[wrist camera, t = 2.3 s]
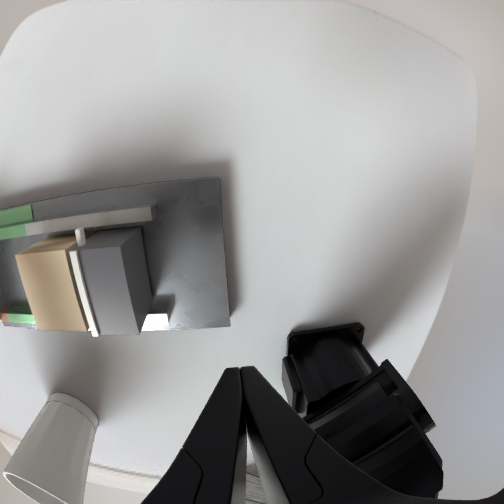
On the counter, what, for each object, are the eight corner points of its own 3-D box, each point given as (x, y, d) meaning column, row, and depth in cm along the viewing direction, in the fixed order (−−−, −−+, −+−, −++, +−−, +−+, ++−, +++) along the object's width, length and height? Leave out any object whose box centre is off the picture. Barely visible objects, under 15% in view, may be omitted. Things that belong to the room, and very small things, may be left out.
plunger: (138, 212, 16) (115, 229, 12) (153, 301, 18) (138, 336, 14) (95, 217, 16) (64, 235, 12) (112, 302, 18) (91, 336, 14)
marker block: (93, 231, 17) (64, 249, 13) (107, 300, 18) (87, 331, 14) (46, 236, 16) (15, 255, 12) (63, 301, 18) (38, 329, 14)
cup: (30, 386, 22) (-12, 464, 10) (80, 386, 22) (40, 483, 10) (67, 433, 24) (41, 507, 13) (118, 435, 24) (98, 523, 13)
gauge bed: (219, 176, 18) (219, 179, 15) (229, 317, 21) (231, 336, 19) (-18, 214, 16) (-35, 221, 14) (10, 319, 19) (-3, 332, 17)
